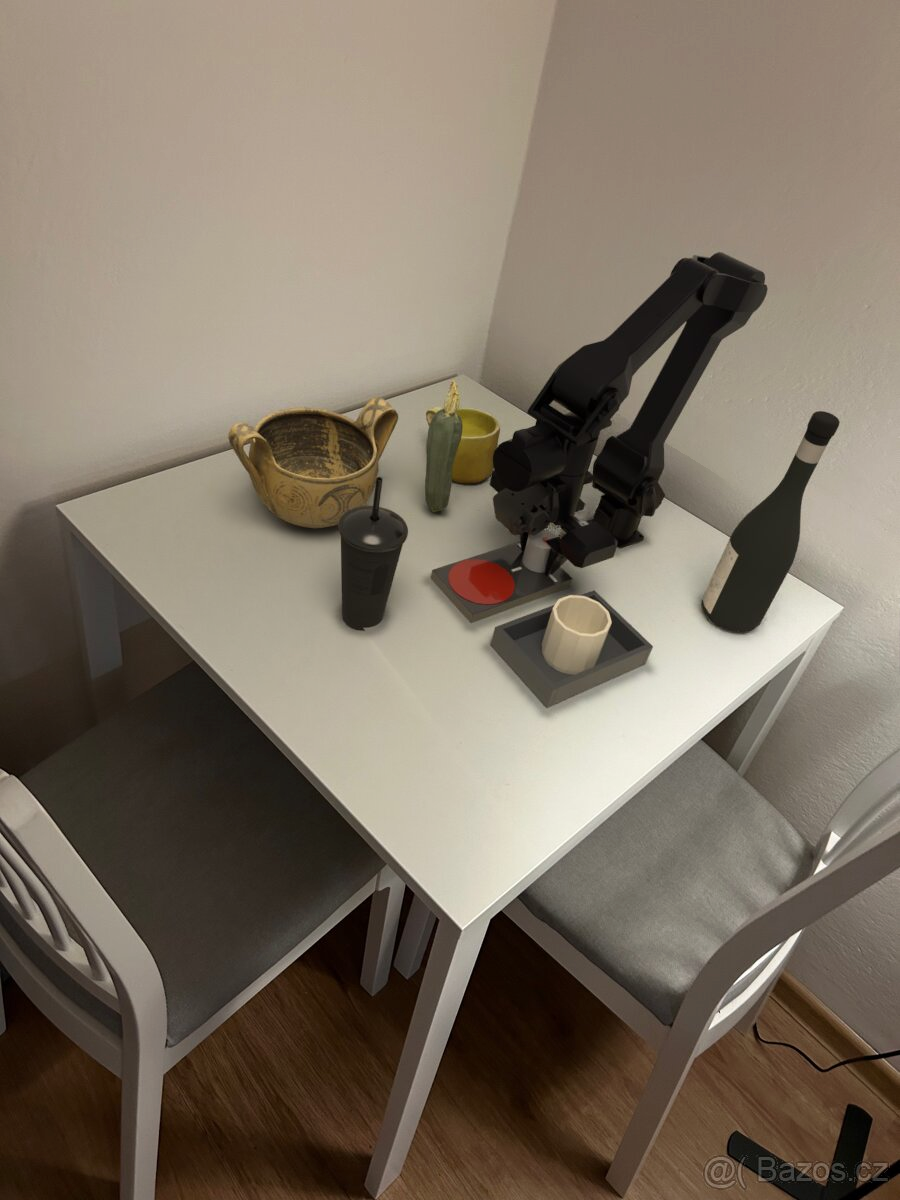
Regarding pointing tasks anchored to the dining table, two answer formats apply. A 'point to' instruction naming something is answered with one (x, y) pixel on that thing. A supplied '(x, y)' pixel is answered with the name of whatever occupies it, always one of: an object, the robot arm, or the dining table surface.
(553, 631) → the pot
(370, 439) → the ceramic bowl
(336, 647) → the dining table surface
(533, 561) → the knob
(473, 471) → the mug
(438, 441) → the vegetable
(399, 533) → the drinking cup
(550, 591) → the hob
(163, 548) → the dining table surface
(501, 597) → the burner
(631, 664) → the sink
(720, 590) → the wine bottle
